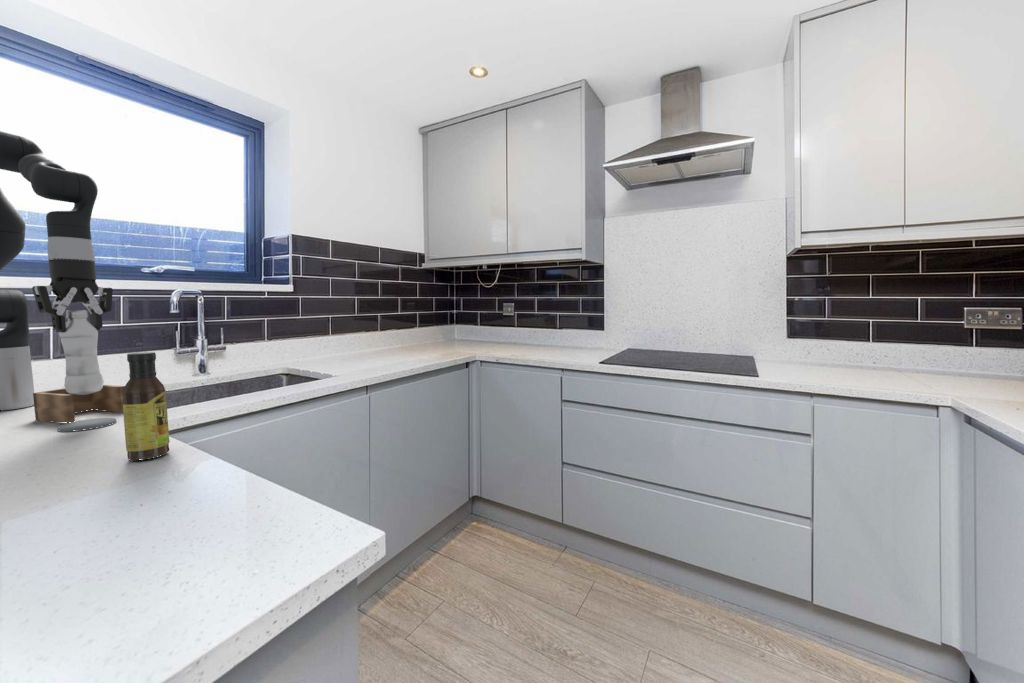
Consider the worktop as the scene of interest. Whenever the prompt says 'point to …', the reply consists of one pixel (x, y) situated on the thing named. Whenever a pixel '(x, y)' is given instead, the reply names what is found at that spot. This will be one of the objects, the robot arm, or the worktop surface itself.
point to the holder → (75, 403)
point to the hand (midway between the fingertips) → (78, 330)
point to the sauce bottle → (144, 409)
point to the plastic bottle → (81, 354)
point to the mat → (86, 424)
